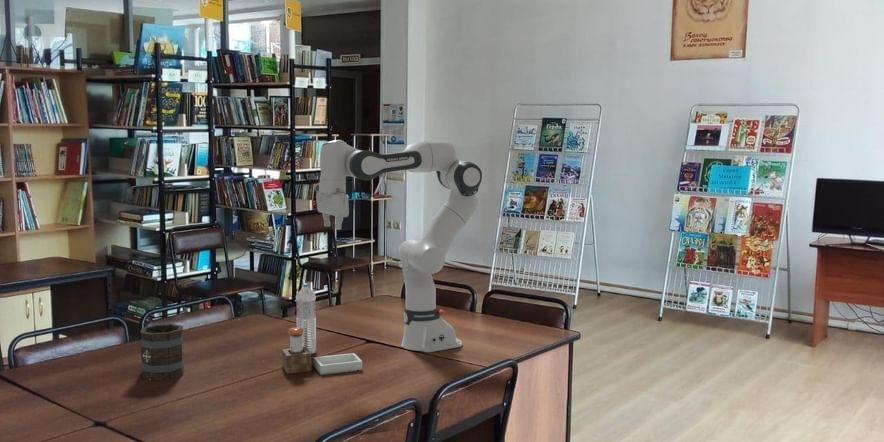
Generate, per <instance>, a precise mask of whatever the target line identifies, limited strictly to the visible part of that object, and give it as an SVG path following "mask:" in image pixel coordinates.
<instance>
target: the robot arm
mask: <svg viewBox="0 0 884 442" xmlns="http://www.w3.org/2000/svg"><path fill="white" fill-rule="evenodd" d="M319 153H320V155H319V169H320V177H319V181H318V183H317V184H316V185H315V186H314V188H315V189H314V190H315V192H316V197H315V198H316V208H317V211H318V213H321V214H322V218H323V223H324V224H323V225H324V227H327V228H328V227H331V221H330V216H334V217H335V221H336V222H335V224H334V229H335V230H339V231H340V230H342V224H343V221H344V218H348V217H349V213H350V206H349V205H350V204H349V197H348V195H347V193H346V192H347V191H346V189H347V188H346V187H347V185H346V183H347V177H352V178H355V179H359V180H362V181H365V182H366V181H370V180H373V179H375V178H377V177H378V176H381V175H382V174H384V173H385V174H386V173H392V172H399V171H408V172H411V173H430V172H436V176H437V180H438V182H439V184H440V186H442V187H444V188H446V189H447V190H448V189H449V190H450V192H449V196H448V198H447V200H446V201H445V202H444V203H443V204H442V205H441V207H440V208H439V209H438V210H437V212H436V213H435V214H434V215H433V216H432V218H431V219H430V220H429V222H428V227H427V230H426V232H425V233H424V236H423V237H422V239H419V238H411V239H407V240H404V241H403V242H402V243H401V244H400V245H399V248H398V250H397V251H398V252H397V254H398V258H399V261H400V263H401V270H402V275H403V281H404V286H405V307H404V312H403V320H404V321H403V322H404V331H403V335H402V341H401V344H400V347H401V348H403V349H405V350H409V351H417V352H418V351H419V352H424V353H433V352H437V351H438V352H439V351H444V350H449V349H456V348H461V347H462V346H463V342H462V340H460V339H459V338H457V334H456V330H455V329H454V326H453V325H451V324H450V323H448V322H447V321H446V320H445V319H443V318H442V317H441V316H445V315H446V314H445V313H446V311H445V310H443V309H440V308H438V307H437V305H436V301H437V299H436V298H437V297H436V296H437V293H436V291H437V289H436V288H437V287H436V284H435V281H434V278H433V275H434V274H436V273H439V272H440V271H441V270H442V269H443V268H444V265H445V263H446V262H445V261H446V255H447V252H448V250H449V249H450V247H451V245H452V243H453V241H454V240H455V238H456V237H457V236H458V235H459V233H460V232H461V231H462V230H463V228H464V227H465V226H466V224H467V223H468V222H469V220H470V219H471V217H472V216H473V214H474V213H475V211H476V209H477V207H478V205H479V200H478V198H477V196H476V194H477V193H478V192H479V187H480V185H481V184H482V180H483V173H482V170H481V167H479V166H478V165H477V164H475V163H474V162H472V161H466V160H459V159H458V158H457V152H456V149H455V147H454V145H453V144H452V143H451V142H449V141H441V140H427V141H426V140H425V141H418V142H413V143H411V144H408V145H406V146H405V147H404V149H403V150H402V151H398V152H389V153H377V152H375V151H372V150H362V149H361V150H360V149H358V148H356V147H353V146H352V145H349V144H347V143H346V142H345V141H344V140H342V139H335V140H330V141H329V140H328V141H326V142H324V143H323V144H322V145H321V148H320V152H319ZM432 274H433V275H432Z"/></svg>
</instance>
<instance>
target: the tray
mask: <svg viewBox="0 0 884 442" xmlns="http://www.w3.org/2000/svg"><path fill="white" fill-rule="evenodd" d="M313 367H314V368H315V369H316V370H317V372H318V373H319V374H320V376H325V375H331V374H338V373H341V374H342V373H348V372H349V371H350V372H358V371H357V370H359V371H363V360H362V359H361V358H360V357H359V356H358V355H357V354H356V353H355V352H352V353H351V352H350V353H342V354H333V355H331V354H330V355H324V356H322V355H321V356H316V357H315V356H314V357H313Z"/></svg>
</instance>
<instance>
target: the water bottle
mask: <svg viewBox="0 0 884 442" xmlns="http://www.w3.org/2000/svg"><path fill="white" fill-rule="evenodd" d="M302 287H303V288H301V289H300V290H299V291H298V292H297V294H296V295H295V300H296V317H295V318H296V321H295V322H296V327H300V328H303V332H304V334H302V347H306V348H307V349H308V350H309V351H310V353H311V356H312V355H315V354H316V352H317V317H316V315H317V313H316V293H315V292H314V291H313V289H311V288H310V287H309V283H307V282H306V283H305V282H304V283H303V284H302Z"/></svg>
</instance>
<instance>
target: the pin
mask: <svg viewBox="0 0 884 442" xmlns="http://www.w3.org/2000/svg"><path fill="white" fill-rule="evenodd" d="M302 334H304V332H303V328H300V327H297V326H296V327H290V328H288V335H289V345H290V346H289V349H290V354H296V353H303V347H302Z"/></svg>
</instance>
